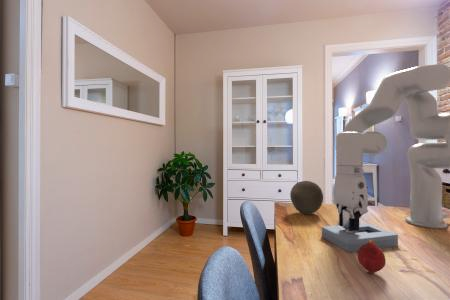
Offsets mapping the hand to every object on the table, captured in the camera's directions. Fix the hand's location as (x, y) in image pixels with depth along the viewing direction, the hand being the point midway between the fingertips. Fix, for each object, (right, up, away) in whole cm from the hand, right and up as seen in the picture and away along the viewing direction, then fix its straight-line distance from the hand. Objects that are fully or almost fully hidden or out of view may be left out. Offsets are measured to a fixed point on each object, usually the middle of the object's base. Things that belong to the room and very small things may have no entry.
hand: (349, 227), depth 76 cm
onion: (-4, -5, -18) cm, 20 cm away
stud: (0, -4, 0) cm, 4 cm away
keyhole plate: (+3, -5, +1) cm, 6 cm away
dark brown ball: (-3, -5, +31) cm, 32 cm away
